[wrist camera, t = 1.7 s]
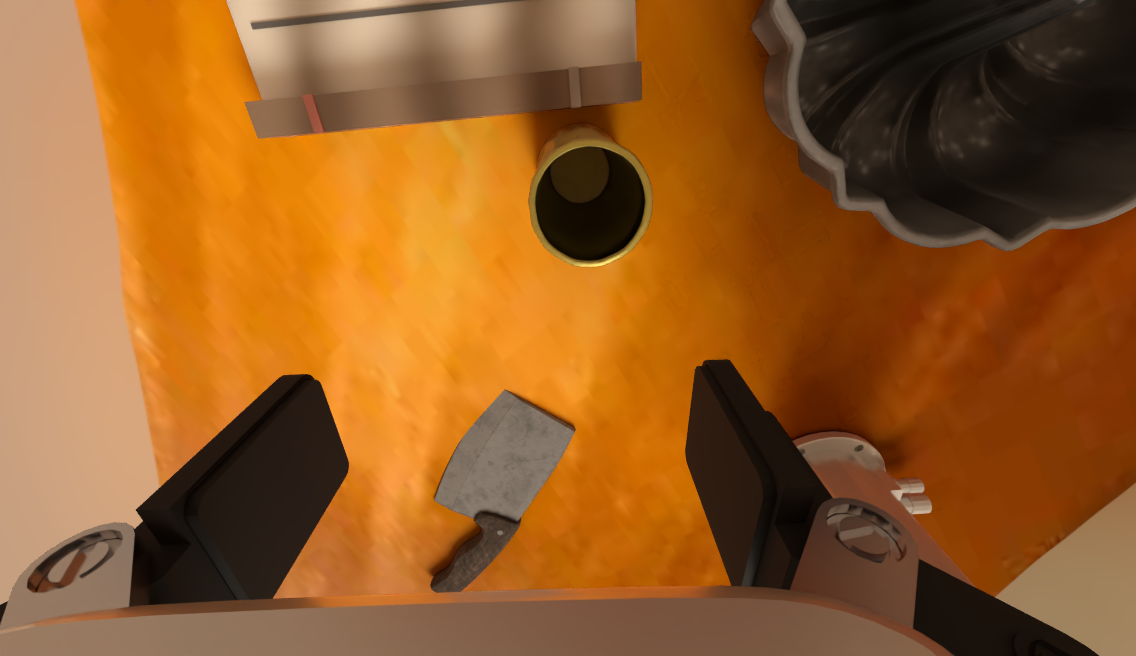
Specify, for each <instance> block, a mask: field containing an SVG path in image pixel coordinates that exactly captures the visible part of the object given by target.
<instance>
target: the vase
mask: <svg viewBox="0 0 1136 656" xmlns="http://www.w3.org/2000/svg"><path fill="white" fill-rule="evenodd" d="M528 203H529V209H530V216H531V224H532V227H533V229H534V231H535V233H536V235H537V237H538V238H539V240H540V242H541V243H542V245H543V246H544V247H545V248H546V249H547V250H548V251H549V252H550V253H551V254H553V255H554V256H556V257H558V258H559V259H561V260H563V261H564V262H566V263H568V264H571V265H574V266H578V267H598V266H603V265H607V264H609V263H611V262H613V261H615V260H617V259H619V258H621V257H623V256H624V255H626V254H627V253H629V252H630V251H631V250H632V249H633V248H634V247H635V246H636V244H637V243H638V242H639V240H640V239H641V237H642V236H643V234H644V233H645V231H646V230H647V228H648V225H649V223H650V219H651V215H652V203H653V199H652V188H651V183H650V180H649V177H648V175H647V173H646V171H645V169H644V167H643V166H642V164H641V162H640V161H639V159H638V158H637V157H636V156H635V155H634V154H633V153H632V152H631V151H629V150H628V149H626V148H624V147H622V146H621V145H619V144H617V143H615V142H614V140H613V139H612V137H611V136H610V135H608V134H607V133H606V132H605V131H603V130H602V129H600V128H598V127H596V126H593V125H590V124H583V123H577V124H571V125H568V126H565V127H562V128H560V129H559V130H557V131H556V132H555V133H553V134H552V135H551V136H550V137H549V138H548V140H547V141H546V142H545V144H544V145H543V147H542V149H541V151H540V154H539V158H538V162H537V170H536V172H535V174H534V176H533V178H532V182H531V187H530V193H529V199H528Z"/></svg>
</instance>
